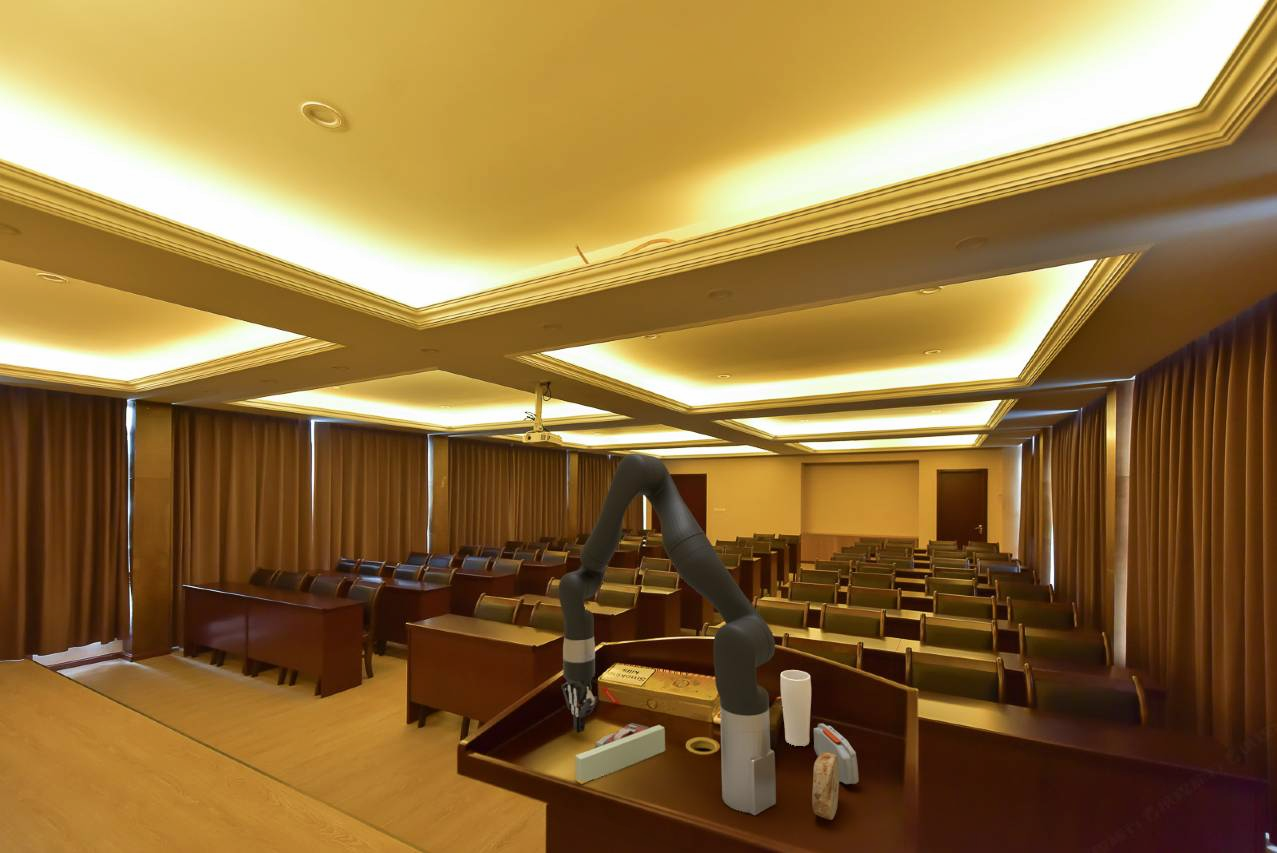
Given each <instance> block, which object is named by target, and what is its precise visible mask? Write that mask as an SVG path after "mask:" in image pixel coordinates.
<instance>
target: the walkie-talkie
mask: <svg viewBox="0 0 1277 853" xmlns="http://www.w3.org/2000/svg"><path fill="white" fill-rule="evenodd" d="M649 728H650V727H649V726H646V725H642V724H638V723H634V722H631V723H629V724H626V725H625V726H624V727H622V728H620V729H619V730H618V731H617V732H615V733H611V734H610V733H609V734H605V736H603V737H602V738H600V739H599V740H597V741H595V742H594V747H593V749H594V748H597V747H600V746H603V745H605V744H608V743H611V742H613V741H616V740H619V739H622V738H624V737H627V736H630V735H633V734H635V733H638V732H641V731H643V730H646V729H649Z"/></svg>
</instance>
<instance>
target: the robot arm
mask: <svg viewBox="0 0 1277 853" xmlns="http://www.w3.org/2000/svg"><path fill="white" fill-rule="evenodd" d="M637 495H639V496H644V497H645V498H646V499H647V501H648V502H649V503H650V505H651V506H652V508H653V510H654V511H655V513H656V515H657V517H658V520H659V522H660V529H661V531H660V532H661V540H662V545H663V549H664V550H665V551H664V552H665V553H666V555H667V557H668V558H669V560H670V562H671V564H672V565H673V567H674V569H675V570H676V571H675V572H677V573H678V575H679V577H680V578H681V579H682V580H683V581H684V582H685V583H686V584H687V585H688V586H689V587H691V588H693V590H695V591H696V592H697V593H698V594H700V595H701V596H702V597H703V598H705V599H706V600H708V602H709V603H711V605H712V606H713V607H714V608H715V609H716V610H717V612H718V613H719V615H720V617H721V618H722V620H723V621H724V623H725V624H723V625H721V626H720V627H719V628H717V630H716V632H715V635H714V639H713V646H712V647H713V666H714V667H713V668H714V680H715V681H714V682H715V686H716V691H717V693H718V695H719V702H720V704H719V705H720V709H719V710H720V712H719V713H720V749H721V750H720V751H721V754H720V755H721V761H720V762H721V791H722V793H721V795H722V797H721V798H722V801H723V803H724V804H726V805H727V806H728V807H730V808H731V809H733V810H736V811H738V810H739V811H738V812H741V811H742V812H741V813H748V814H751V815H753V816H756V815H758V814H760V813H761V812H763V811H765V810H767V809H768V808H771V807H773V806H774V805H776V804H777V793H776V792H777V790H776V757H775V756H776V755H775V751H774V750H773V749H771V737H770V736H771V735H770V732H771V731H770V730H771V729H770V728H771V727H770V698H769V693H768V691H767V690H766V689H765V688H764V687H763V686H761V685H759V684H758V681H757V680H758V679H757V668H758V667H759V666H762V665H764V664H766V663H768V662H769V661H770V660H771V659H772V658H773V656H774V655H775V650H776V642H775V637H774V635H773V632H772V631H771V628H770V627H769V625H768V623H767V622H766V621H765V619H764V618H763V617H762V616H761V613H759V612H758V610H757V609H756V608H755V606H754V605H753V604H752V603H751V602H750V600H749V599H748V598H747V597H746V595H745V594H744V592H743V590H741V588H740V587H739V586H738V584H737V582H736V581H735V579H734V577H733V576H732V575H731V573H730V571H729V570H728V568H727V567H726V565H725V564H724V562H723V561H722V559H721V558H720V556H719V554H718V553H717V551H716V549H715V547H714V546H713V545H712V543H711V541H710V539H709V538H708V537H707V535H706V533H705V532H704V530H703V529H702V527H701V526H700V525H699V523H698V521H697V520H696V518H695V517H694V516H693V513H692V512H691V510H690V509H689V507H688V506H687V504H686V503H685V501H684V500H683V498H682V496H681V494H680V492H679V490H678V489H677V486H676V484H675V481H674V480H673V478H672V476H671V474H670V472H669V470H668V468H667V466H666V465H665V463H664V462H663V461H662V460H661V459H659V458H658V457H656V456H652V455H648V454H642V453H629V454H626V455H625V456H624V457H623V458H622V459H621V460H620V461H619V462H618V465H617V467H616V469H615V472H614V474H613V477H612V479H611V481H610V486H609V489H608V492H607V494H606V497H605V498H604V502H603V505H602V508H601V511H600V514H599V516H598V519H597V520H596V523H595V525H594V527H593V528H592V530H591V533H590V534H589V536H588V538H587V540H586V542H585V543H584V545H583V548H582V549H581V552H580V554H579V561H580V563H581V566H580V567H579V569H578V570H575V571H570V572H568V573H565V574H564V575H563V576H562V577H561V579H560V581H559V583H558V588H557V591H558V592H557V594H558V595H557V596H558V600H559V603H560V608H561V611H562V616H563V619H564V624H563V626H564V632H563V635H564V637H563V644H562V646H563V647H562V675H563V678H564V679H565V680H566V682H565V683H562V684H561V687H560V688H561V690H562V693H563V696H564V699H565V704H566V706H567V709H568V710H571V714H572V715H573V722H572V724H573V731H574V732H576V733H577V734H579V733H583V732H584V731H585V729H586V716H588V715H591V714H592V713H593V710H594V708H595V706H596V705H597V704H598V701H599V699H598V695H597V696H595V695H593V692H592V689H593V688H592V683H591V681H592V679H593V677H595V675H596V642H595V634H594V633H595V629H594V628H595V626H594V625H595V624H594V623H595V621H594V620H595V619H594V614H593V612H592V611H591V610H589V609H586V606H585V600H587V599H591V598H592V597H593V596H595V594H596V593H597V592H598V591H599V589H600V588H601V586H602V583H603V582H604V577H605V573H606V571H607V566H608V565H609V563H610V561H611V560H612V559H613V558H612V557H613V556H614V554H615V552H616V551H617V549H618V547H619V544H620V542H621V540H622V539H621V538H622V533H623V525H624V524H623V522H624V518H625V513H626V512H627V509H628V508H629V505H630V504H631V502H632V501H633V500H634V498H636V497H637Z"/></svg>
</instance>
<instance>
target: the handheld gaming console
mask: <svg viewBox="0 0 1277 853" xmlns="http://www.w3.org/2000/svg"><path fill="white" fill-rule="evenodd" d="M813 742H814V744H813V748H814V751H815V753H816V755H817V758H818V757H819V756H820V754H821V753H832V754H835V755H836V756H837V759H838V776H839V783H843V784H844V785H850V784H852V785H854V784H858V783H859V780H860V778H859V770H858V769H859V768H858V759H857V755H856V754H857V752H856V751H855V750H854V749H853V747H852V746H851V744H850V743H849V741H848V740H847V738H845V737H844V736H843V735H842V734H840V733H839V732H838V731H837V730H835V729H834V727H832V726H831V725H826V724H824V723H823V722H822V723H818V724H817V727H815V728H814V727H813Z"/></svg>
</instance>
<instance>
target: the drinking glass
mask: <svg viewBox="0 0 1277 853" xmlns="http://www.w3.org/2000/svg"><path fill="white" fill-rule="evenodd" d="M811 680H812V679H811V675H810V674H809V673H808V672H806V671H803V670H802V671H801V670H796V669H790V670H788V669H787V670H784V671H782V672H781V673H780V697H781V705H782V706H781V708H782V707H783V708H782V715H783V722H784V725H783V726H784V737H785V738H784V739H785V742H786V743H787V744H788V743H789V745H790V744H791V745H790V746H792V745H794V746H793V747H796V746H803V747H806V746H808V745H809V743H810V724H811V707H812V706H811V704H812V682H811Z"/></svg>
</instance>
